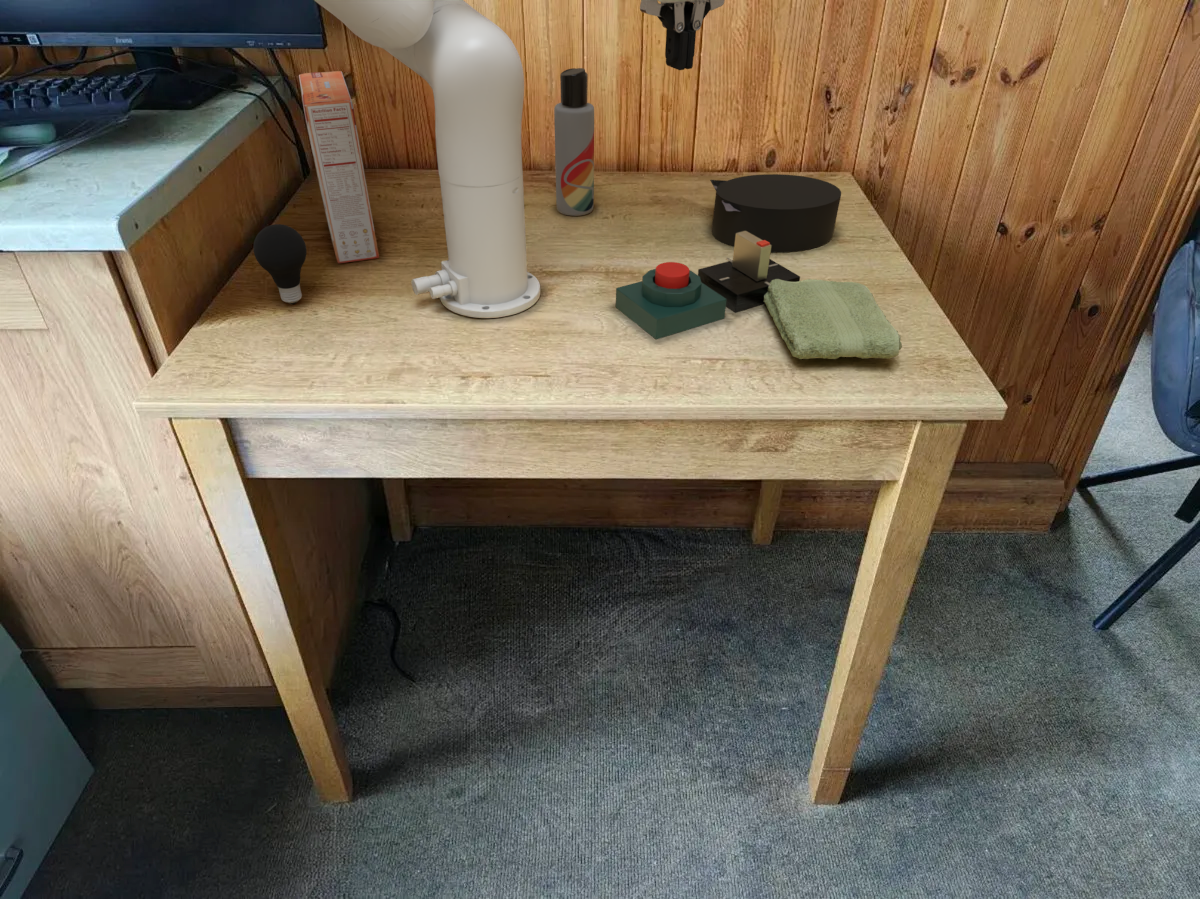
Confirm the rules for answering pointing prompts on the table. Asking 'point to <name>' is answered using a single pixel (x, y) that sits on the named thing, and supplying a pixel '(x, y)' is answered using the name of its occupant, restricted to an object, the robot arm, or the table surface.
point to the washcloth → (830, 320)
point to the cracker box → (339, 165)
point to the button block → (669, 305)
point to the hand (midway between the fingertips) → (678, 66)
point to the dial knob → (751, 255)
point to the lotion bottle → (574, 145)
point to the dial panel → (742, 284)
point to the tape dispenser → (776, 210)
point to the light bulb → (282, 258)
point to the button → (672, 275)
